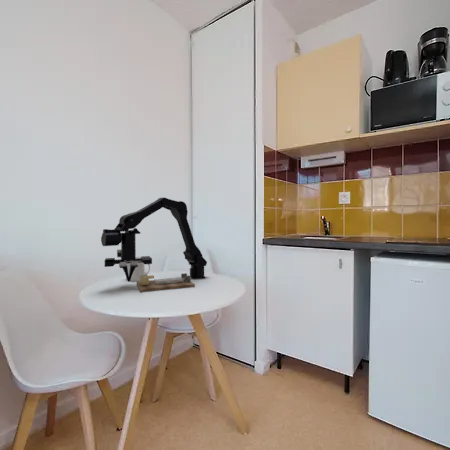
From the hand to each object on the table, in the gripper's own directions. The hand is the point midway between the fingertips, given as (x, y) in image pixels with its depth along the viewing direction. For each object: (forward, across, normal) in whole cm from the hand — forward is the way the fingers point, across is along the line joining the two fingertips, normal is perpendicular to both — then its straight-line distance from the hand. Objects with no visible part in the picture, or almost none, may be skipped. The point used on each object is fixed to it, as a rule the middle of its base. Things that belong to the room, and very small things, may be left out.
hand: (128, 281), depth 118 cm
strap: (+2, -18, 0) cm, 18 cm away
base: (+3, -15, 0) cm, 16 cm away
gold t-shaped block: (+2, -8, 0) cm, 8 cm away
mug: (+4, -6, -18) cm, 19 cm away
